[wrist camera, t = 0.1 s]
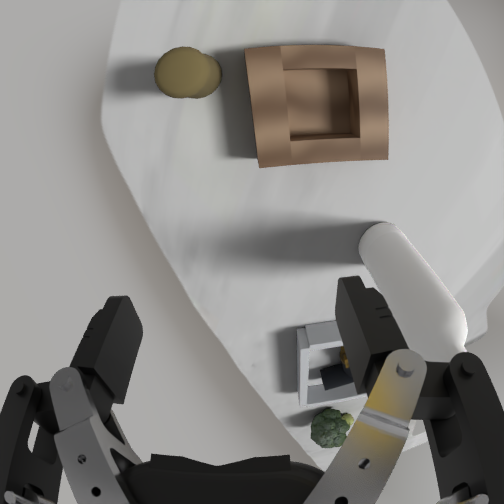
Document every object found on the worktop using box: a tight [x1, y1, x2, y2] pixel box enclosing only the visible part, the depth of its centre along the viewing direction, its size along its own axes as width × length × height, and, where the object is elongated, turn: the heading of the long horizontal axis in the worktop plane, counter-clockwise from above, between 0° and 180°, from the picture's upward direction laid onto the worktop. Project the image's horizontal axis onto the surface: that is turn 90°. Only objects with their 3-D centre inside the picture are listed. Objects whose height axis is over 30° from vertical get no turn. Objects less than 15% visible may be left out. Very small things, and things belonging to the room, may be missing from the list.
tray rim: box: [297, 321, 367, 407], centre depth 57 cm, size 24×24×5 cm
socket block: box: [244, 45, 389, 168], centre depth 31 cm, size 14×16×4 cm
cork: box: [154, 47, 222, 99], centre depth 26 cm, size 6×6×11 cm
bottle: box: [359, 222, 468, 362], centre depth 31 cm, size 8×8×30 cm
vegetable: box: [311, 408, 354, 448], centre depth 70 cm, size 12×13×15 cm
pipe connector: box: [320, 346, 354, 391], centre depth 57 cm, size 12×5×15 cm
